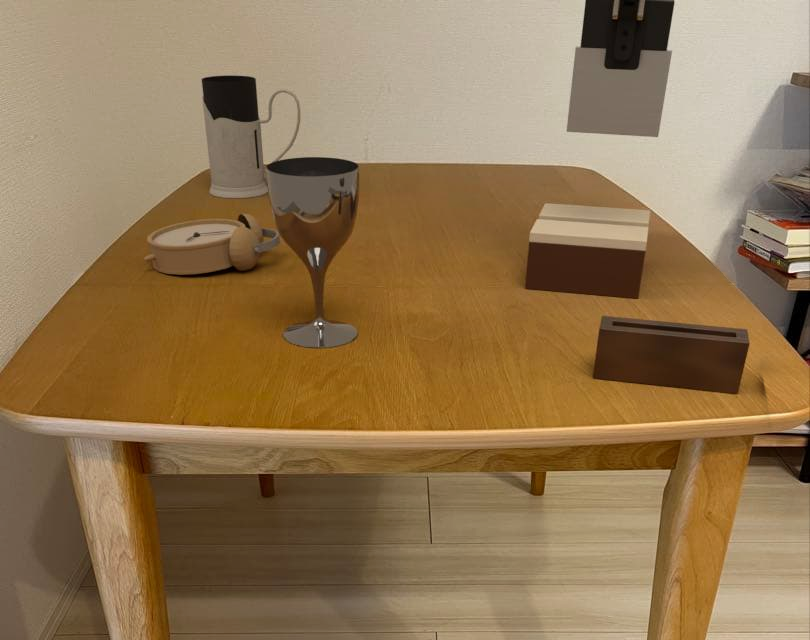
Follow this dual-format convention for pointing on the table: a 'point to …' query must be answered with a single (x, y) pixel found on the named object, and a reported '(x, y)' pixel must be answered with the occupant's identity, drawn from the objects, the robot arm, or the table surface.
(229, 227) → the alarm clock
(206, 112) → the glass holder
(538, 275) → the cake near
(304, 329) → the wine glass
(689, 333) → the block
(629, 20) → the robot arm
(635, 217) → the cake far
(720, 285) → the table surface
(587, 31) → the dough scraper
